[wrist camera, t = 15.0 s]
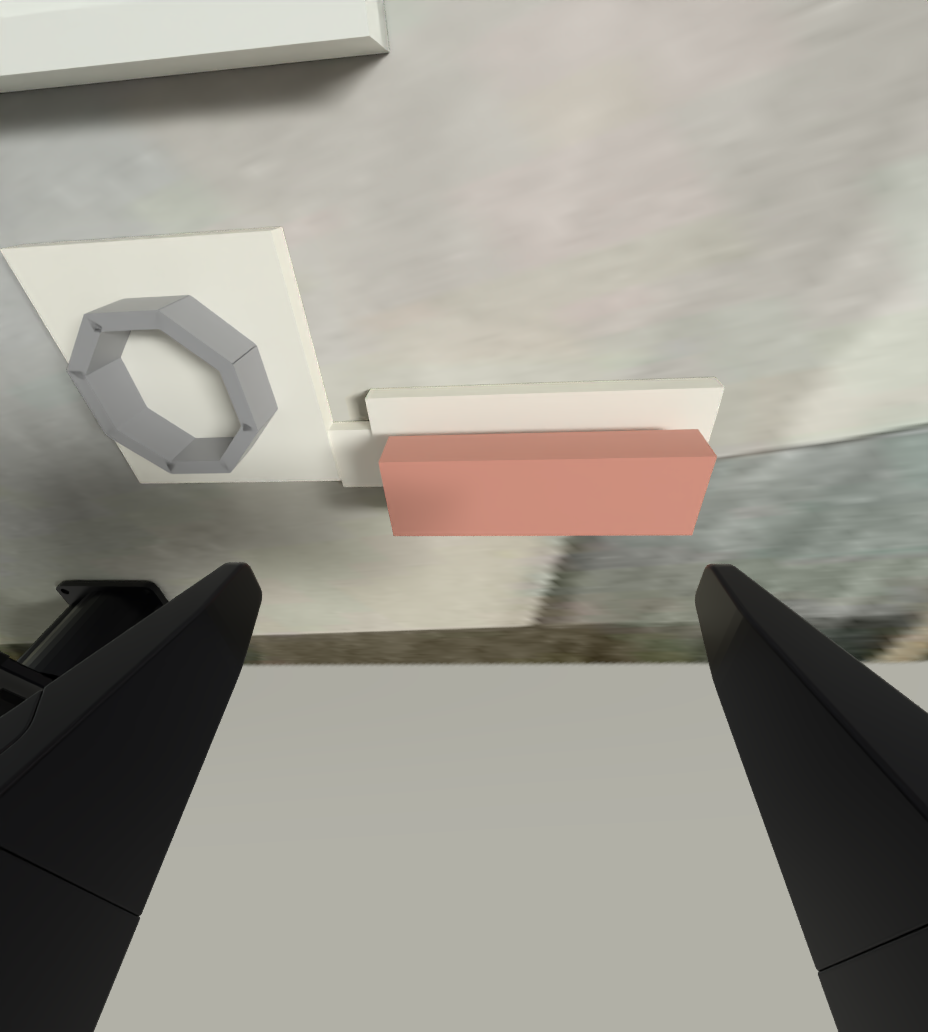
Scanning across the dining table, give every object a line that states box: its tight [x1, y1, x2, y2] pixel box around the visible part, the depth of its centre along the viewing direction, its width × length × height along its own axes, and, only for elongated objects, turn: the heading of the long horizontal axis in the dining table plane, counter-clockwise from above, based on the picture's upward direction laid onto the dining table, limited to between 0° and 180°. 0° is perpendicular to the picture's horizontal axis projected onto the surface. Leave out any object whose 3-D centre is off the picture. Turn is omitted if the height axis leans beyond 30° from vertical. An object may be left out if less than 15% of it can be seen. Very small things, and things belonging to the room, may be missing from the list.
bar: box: [378, 429, 717, 536], centre depth 18 cm, size 12×4×2 cm, turn 94°
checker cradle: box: [0, 227, 725, 487], centre depth 18 cm, size 26×12×3 cm, turn 94°
